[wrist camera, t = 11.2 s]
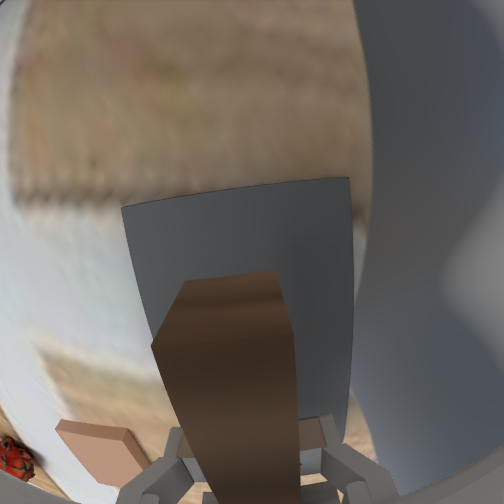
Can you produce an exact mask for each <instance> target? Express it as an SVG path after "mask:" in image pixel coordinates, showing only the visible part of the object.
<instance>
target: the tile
mask: <svg viewBox="0 0 504 504" xmlns="http://www.w3.org/2000/svg"><path fill="white" fill-rule="evenodd" d="M55 430H56V432H57V433H58V434H59V436H60V437H61V438H62V440H63V441H64V442H65V444H66V445H67V446H68V448H69V449H70V450H71V451H72V453H73V454H74V455H75V456H76V458H77V459H78V460H79V461H80V462H81V464H82V465H83V466H84V467H85V468H86V469H87V471H88V472H89V473H90V474H91V475H92V476H93V477H94V478H95V479H96V481H97V482H98V483H101V484H106V485H110V486H115V487H121V488H122V487H123V486H124V485H126V484H127V483H128V482H129V481H131V480H132V479H133V478H135V477H136V476H137V475H138V474H140V473H141V472H142V471H143V470H145V469H146V468H147V467H148V466H149V465H151V464H150V462H149V461H148V460H147V458H146V457H145V455H144V454H143V452H142V451H141V449H140V448H139V446H138V444H137V443H136V441H135V440H134V438H133V437H132V435H131V433H130V432H129V430H128V428H120V427H110V426H102V425H94V424H87V423H81V422H75V421H69V420H63V419H61V420H60V422H59V423H58V425H57V426H56V428H55Z"/></svg>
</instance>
